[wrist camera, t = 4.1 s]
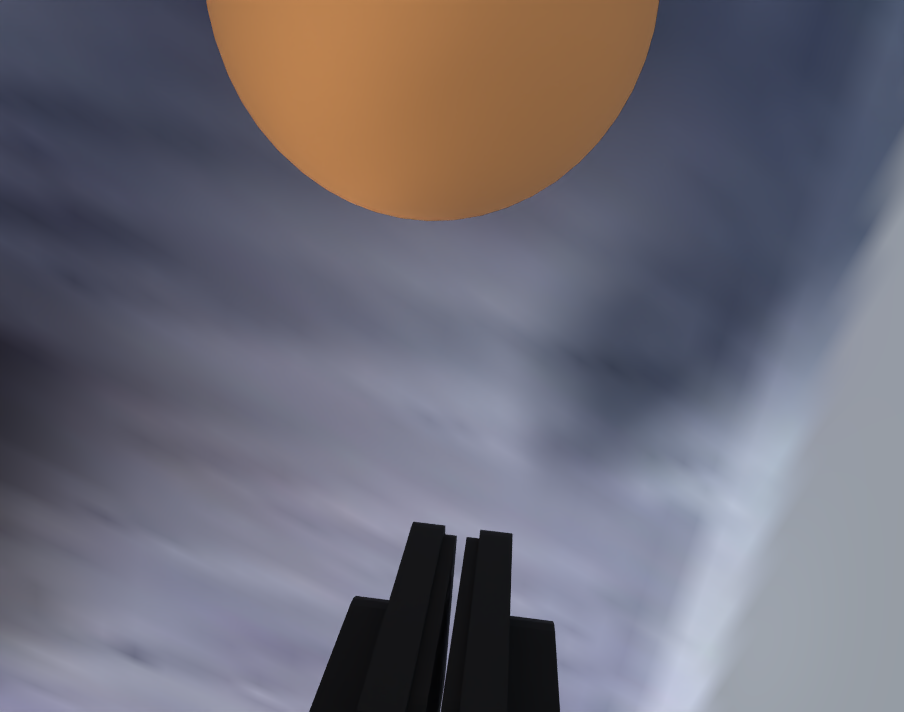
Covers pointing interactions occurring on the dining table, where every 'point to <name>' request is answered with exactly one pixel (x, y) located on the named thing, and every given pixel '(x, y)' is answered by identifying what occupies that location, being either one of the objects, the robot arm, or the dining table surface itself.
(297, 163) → the ball
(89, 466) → the dining table surface
